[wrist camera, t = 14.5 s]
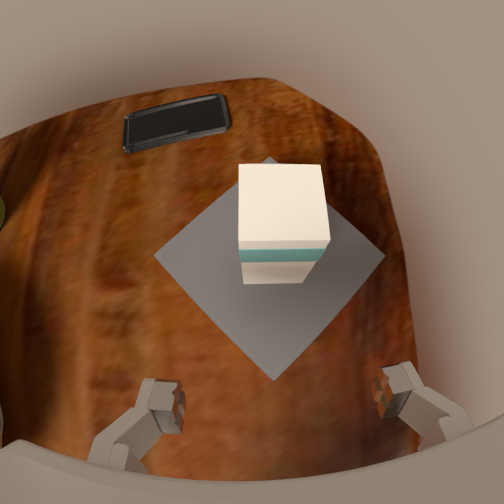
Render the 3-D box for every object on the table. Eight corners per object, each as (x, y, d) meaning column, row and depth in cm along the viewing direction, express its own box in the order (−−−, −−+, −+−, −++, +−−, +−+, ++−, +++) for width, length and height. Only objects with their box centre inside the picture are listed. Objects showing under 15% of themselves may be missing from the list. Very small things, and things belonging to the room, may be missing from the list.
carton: (302, 283, 25) (331, 240, 16) (243, 284, 25) (237, 241, 16) (299, 228, 27) (320, 164, 18) (242, 229, 27) (238, 163, 18)
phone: (124, 114, 38) (222, 92, 39) (127, 119, 39) (223, 97, 40) (121, 152, 36) (231, 128, 36) (124, 157, 37) (231, 133, 37)
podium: (367, 270, 31) (385, 255, 26) (270, 376, 27) (273, 380, 23) (267, 182, 34) (269, 156, 30) (167, 270, 31) (153, 255, 26)
